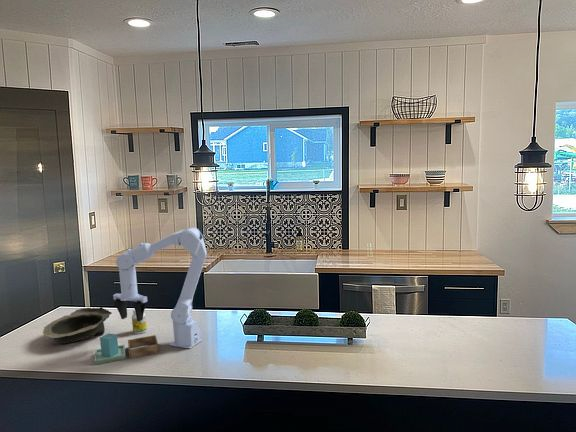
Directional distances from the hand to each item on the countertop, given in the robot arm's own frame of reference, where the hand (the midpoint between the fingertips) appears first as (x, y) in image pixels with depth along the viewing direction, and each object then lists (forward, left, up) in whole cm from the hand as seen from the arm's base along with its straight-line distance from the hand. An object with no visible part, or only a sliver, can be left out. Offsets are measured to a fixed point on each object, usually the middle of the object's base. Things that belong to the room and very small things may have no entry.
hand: (132, 319), depth 167 cm
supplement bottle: (+8, -12, -11) cm, 18 cm away
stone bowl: (+28, +1, -11) cm, 30 cm away
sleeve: (-6, +2, -10) cm, 12 cm away
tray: (+2, +10, -10) cm, 15 cm away
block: (+2, +10, -10) cm, 14 cm away
